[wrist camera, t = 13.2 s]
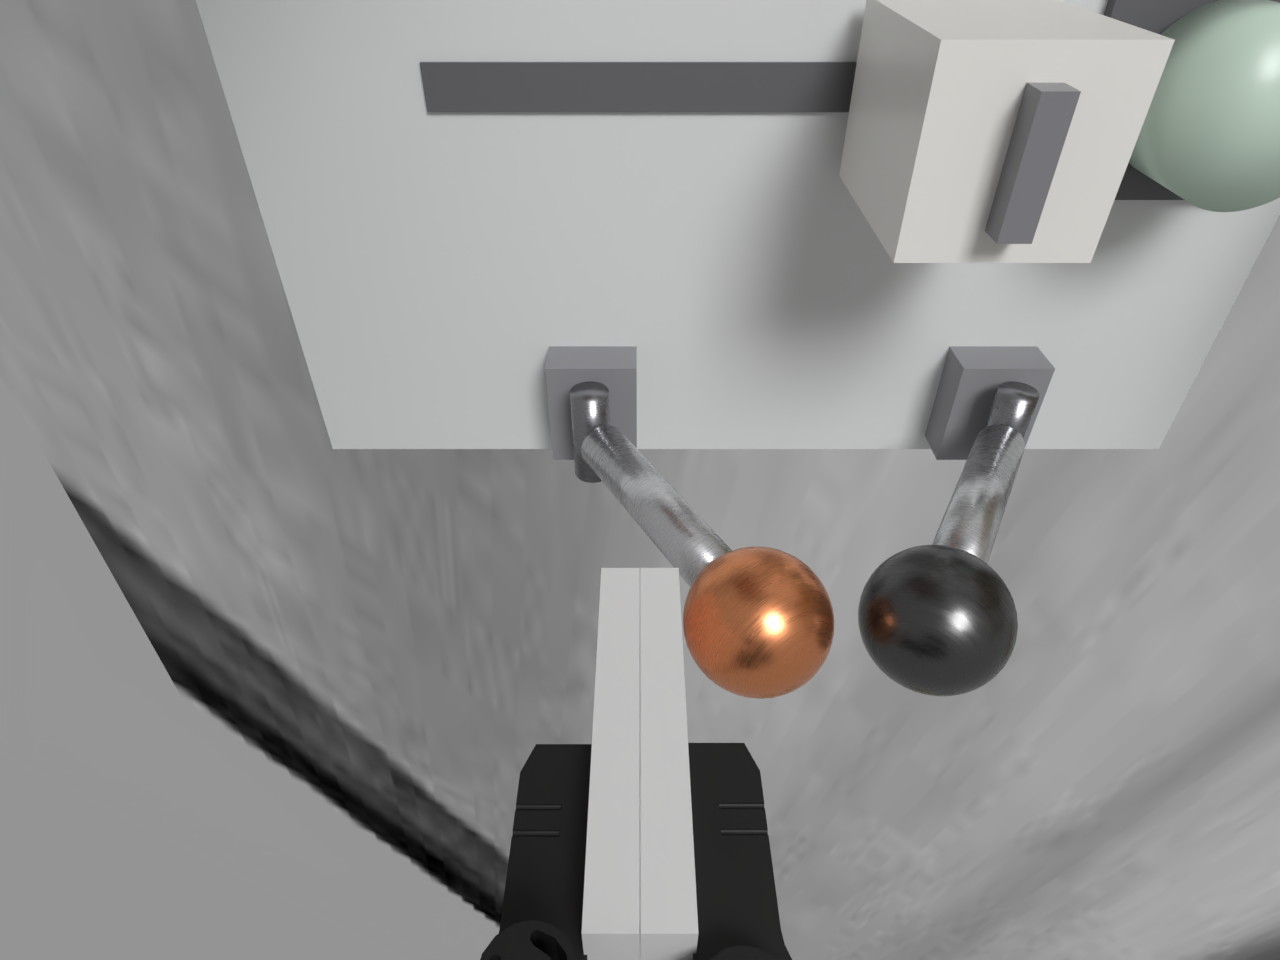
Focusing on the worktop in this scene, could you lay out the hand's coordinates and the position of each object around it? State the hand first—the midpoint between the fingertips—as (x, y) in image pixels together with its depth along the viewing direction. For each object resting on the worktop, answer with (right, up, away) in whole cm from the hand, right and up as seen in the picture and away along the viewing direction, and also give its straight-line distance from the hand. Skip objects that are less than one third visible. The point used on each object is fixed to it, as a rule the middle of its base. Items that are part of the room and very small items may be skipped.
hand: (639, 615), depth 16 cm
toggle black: (+10, +4, +5) cm, 12 cm away
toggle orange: (-1, +4, +5) cm, 7 cm away
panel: (+3, +11, +7) cm, 13 cm away
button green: (+12, +11, +1) cm, 17 cm away
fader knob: (+6, +11, +1) cm, 13 cm away
